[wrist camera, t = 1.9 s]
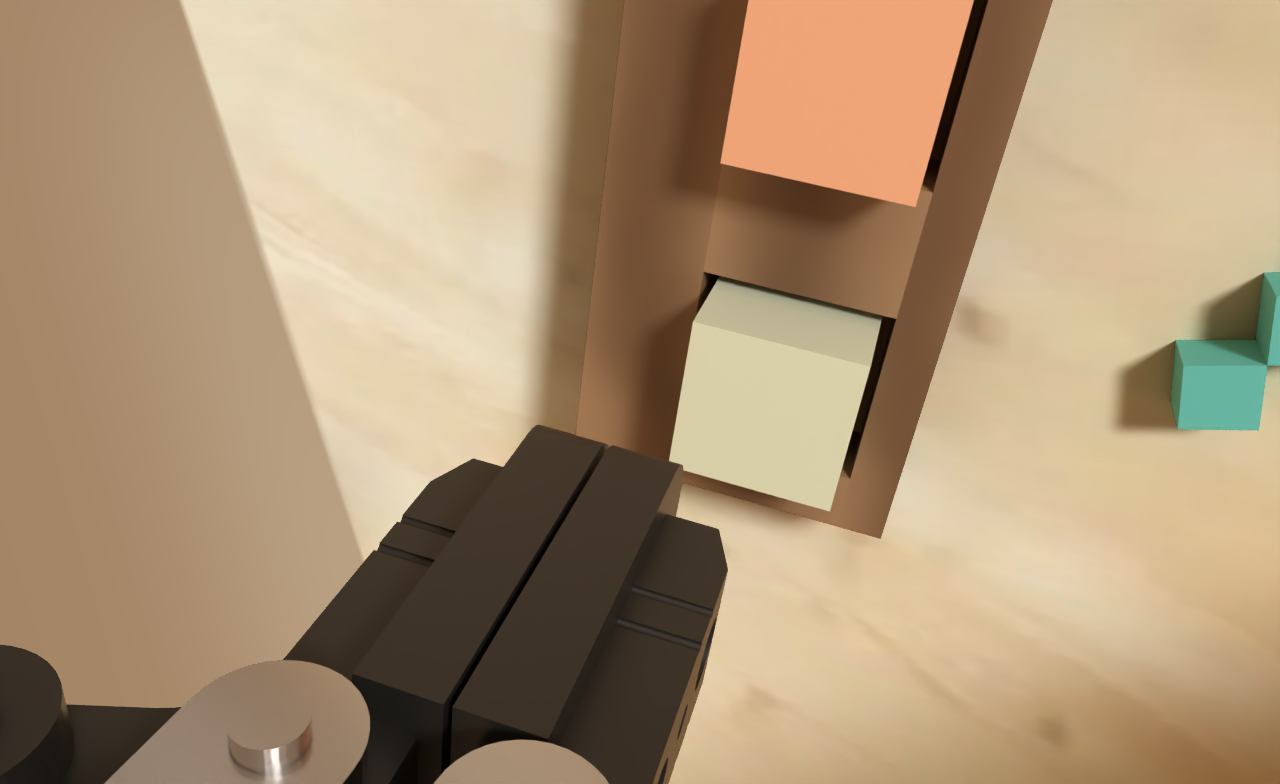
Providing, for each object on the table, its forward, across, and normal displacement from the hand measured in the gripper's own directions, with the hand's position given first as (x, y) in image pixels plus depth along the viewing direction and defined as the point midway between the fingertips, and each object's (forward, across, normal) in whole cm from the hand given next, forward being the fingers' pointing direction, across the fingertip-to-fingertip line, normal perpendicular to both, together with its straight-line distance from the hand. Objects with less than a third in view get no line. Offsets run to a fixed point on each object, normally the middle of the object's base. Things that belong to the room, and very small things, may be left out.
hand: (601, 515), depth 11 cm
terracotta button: (+23, 0, 0) cm, 23 cm away
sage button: (+22, 0, +10) cm, 25 cm away
